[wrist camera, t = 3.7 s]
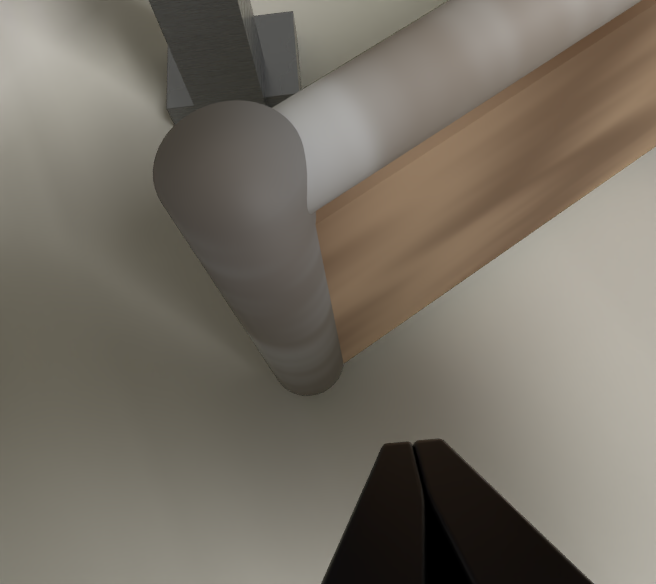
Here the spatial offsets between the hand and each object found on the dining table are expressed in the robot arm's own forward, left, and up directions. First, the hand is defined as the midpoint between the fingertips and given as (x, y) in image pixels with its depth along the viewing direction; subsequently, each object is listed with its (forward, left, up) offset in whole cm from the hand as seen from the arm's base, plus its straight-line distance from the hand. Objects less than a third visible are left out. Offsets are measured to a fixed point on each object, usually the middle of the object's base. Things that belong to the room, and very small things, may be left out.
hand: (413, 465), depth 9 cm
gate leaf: (+7, +3, -6) cm, 9 cm away
